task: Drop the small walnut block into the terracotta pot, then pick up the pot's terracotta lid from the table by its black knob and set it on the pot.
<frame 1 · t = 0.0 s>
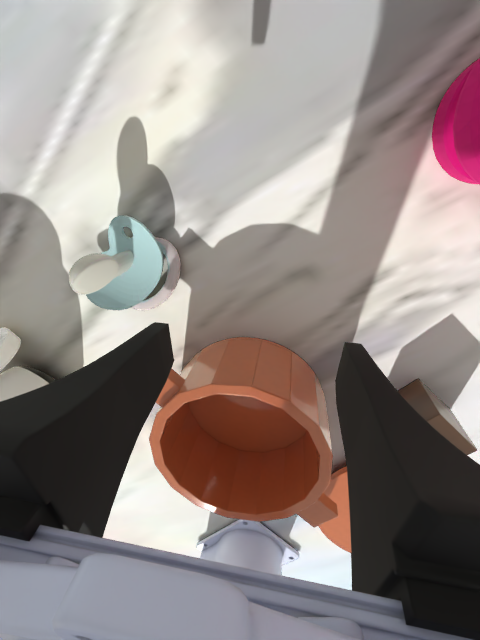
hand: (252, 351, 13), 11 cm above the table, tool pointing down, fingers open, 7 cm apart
pot: (249, 400, 27), on the table
lid: (388, 511, 29), point 1 cm above the table
spread jar: (31, 379, 31), on the table
pacifier: (143, 266, 24), on the table
block: (411, 407, 25), on the table
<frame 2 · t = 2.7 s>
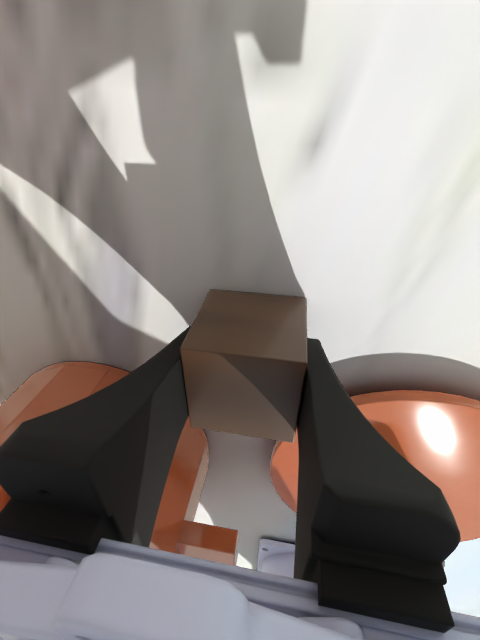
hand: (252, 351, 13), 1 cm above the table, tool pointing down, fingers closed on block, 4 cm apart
pot: (117, 433, 20), on the table
lid: (393, 476, 17), point 1 cm above the table
block: (255, 331, 14), on the table, touching gripper
when the fingers open (4 cm above the table, at t = 7.9 s): block drops 3 cm, resting on pot.
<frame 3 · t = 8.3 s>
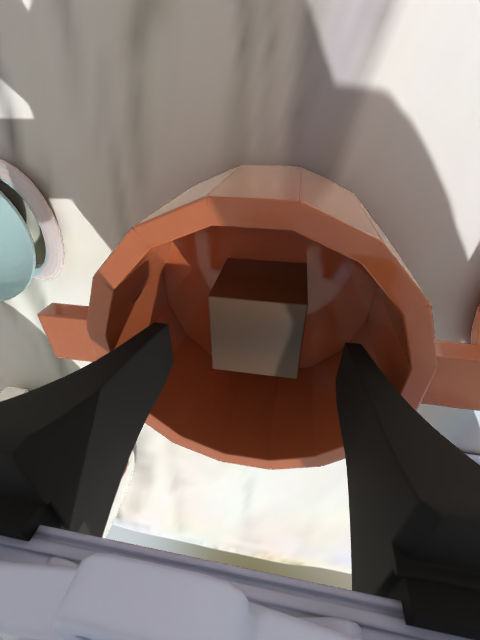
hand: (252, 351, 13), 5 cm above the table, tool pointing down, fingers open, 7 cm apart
pot: (264, 291, 17), on the table
spread jar: (79, 422, 28), on the table
pacifier: (18, 222, 17), on the table
block: (264, 295, 17), resting on pot
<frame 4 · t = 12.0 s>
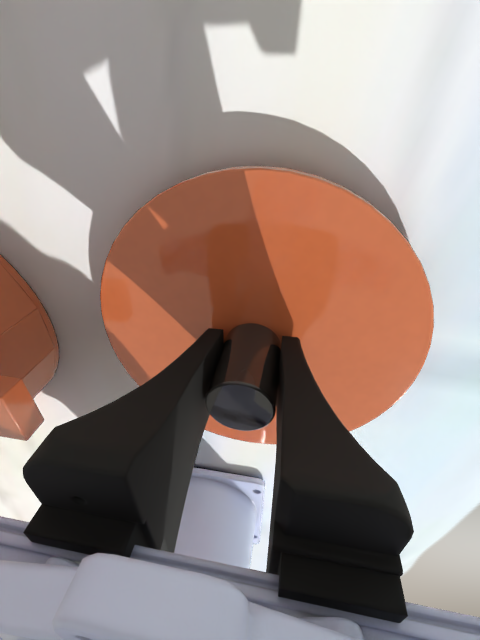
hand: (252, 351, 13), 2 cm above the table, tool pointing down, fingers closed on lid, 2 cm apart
lid: (254, 337, 14), point 1 cm above the table, touching gripper
when the fingers open (7 cm above the table, at t = 16.3 s): lid stays where it is, resting on pot.
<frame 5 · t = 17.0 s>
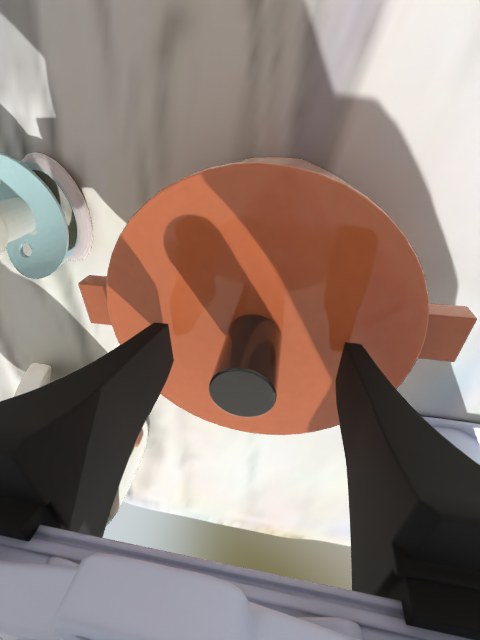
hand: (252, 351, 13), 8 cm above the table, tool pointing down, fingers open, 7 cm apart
pot: (269, 270, 19), on the table
lid: (256, 328, 14), point 6 cm above the table, touching pot
spread jar: (96, 398, 30), on the table
pacifier: (52, 209, 20), on the table
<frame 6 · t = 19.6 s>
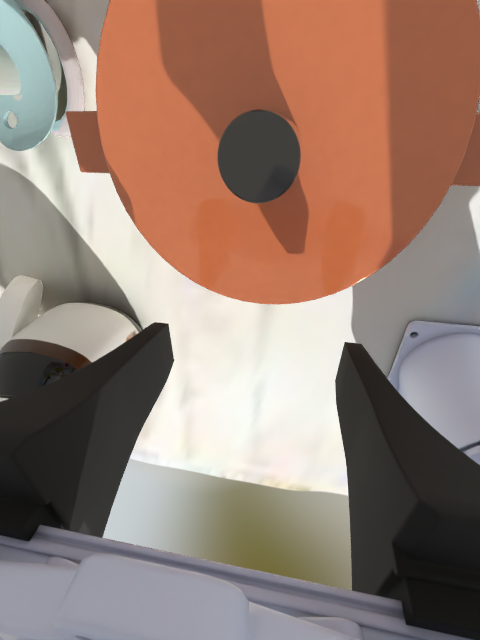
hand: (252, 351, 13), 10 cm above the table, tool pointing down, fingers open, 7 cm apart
pot: (280, 137, 17), on the table
lid: (270, 147, 12), point 6 cm above the table, touching pot
spread jar: (91, 325, 28), on the table
pacifier: (40, 73, 18), on the table
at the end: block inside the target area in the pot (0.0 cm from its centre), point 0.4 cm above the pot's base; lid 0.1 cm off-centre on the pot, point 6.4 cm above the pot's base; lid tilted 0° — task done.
